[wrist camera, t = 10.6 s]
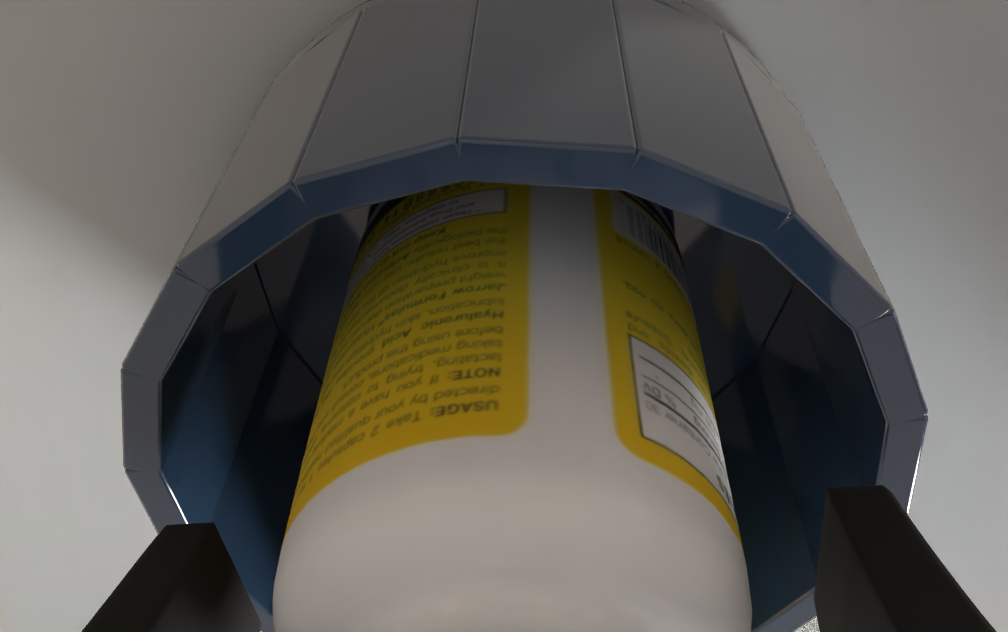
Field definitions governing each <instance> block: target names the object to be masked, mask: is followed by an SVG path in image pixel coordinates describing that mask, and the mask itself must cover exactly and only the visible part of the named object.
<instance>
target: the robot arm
mask: <svg viewBox="0 0 1008 632" xmlns="http://www.w3.org/2000/svg"><path fill="white" fill-rule="evenodd" d="M814 603H815V609H816V614H817V619H818V624H819V629H820V632H996V631H995V629H994V628H993V627H992V626H991V625H990V623H989V622H988V621H987V620H986V619H985V617H984V616H983V615H982V614H981V612H980V611H979V610H978V609H977V607H976V606H975V605H974V603H973V602H972V601H971V600H970V598H969V597H968V596H967V595H966V593H965V592H964V591H963V590H962V588H961V587H960V586H959V584H958V583H957V582H956V580H955V579H954V578H953V576H952V575H951V574H950V572H949V571H948V570H947V569H946V567H945V566H944V565H943V563H942V562H941V561H940V559H939V558H938V557H937V555H936V554H935V553H934V551H933V550H932V548H931V547H930V546H929V544H928V543H927V542H926V540H925V539H924V538H923V536H922V535H921V533H920V532H919V531H918V529H917V528H916V526H915V525H914V524H913V522H912V521H911V519H910V518H909V516H908V515H907V514H906V512H905V511H904V509H903V508H902V506H901V505H900V503H899V502H898V500H897V499H896V497H895V496H894V495H893V493H892V492H891V491H890V490H889V489H887V488H886V487H885V486H884V485H874V486H856V487H838V488H827V492H826V501H825V509H824V517H823V525H822V534H821V542H820V550H819V559H818V567H817V575H816V583H815V592H814ZM260 630H261V621H260V619H259V617H258V615H257V613H256V610H255V608H254V606H253V604H252V602H251V600H250V598H249V596H248V593H247V591H246V589H245V587H244V585H243V583H242V581H241V578H240V576H239V574H238V572H237V570H236V568H235V566H234V564H233V561H232V559H231V557H230V555H229V553H228V551H227V549H226V547H225V544H224V542H223V540H222V538H221V536H220V534H219V532H218V529H217V527H216V525H215V523H214V522H212V523H194V524H176V525H166V526H165V527H164V528H163V529H162V531H161V532H160V533H159V534H158V535H157V537H156V538H155V539H154V540H153V542H152V543H151V544H150V545H149V547H148V548H147V549H146V550H145V552H144V553H143V554H142V555H141V557H140V558H139V559H138V560H137V562H136V563H135V564H134V566H133V567H132V568H131V569H130V571H129V572H128V573H127V574H126V576H125V577H124V578H123V580H122V581H121V582H120V583H119V585H118V586H117V587H116V589H115V590H114V591H113V592H112V594H111V595H110V596H109V597H108V599H107V600H106V601H105V603H104V604H103V605H102V606H101V608H100V609H99V610H98V611H97V613H96V614H95V615H94V616H93V618H92V619H91V620H90V622H89V623H88V624H87V625H86V627H85V628H84V629H83V630H82V632H260Z"/></svg>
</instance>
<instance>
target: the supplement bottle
mask: <svg viewBox="0 0 1008 632" xmlns="http://www.w3.org/2000/svg"><path fill="white" fill-rule="evenodd" d="M751 623H752V604H751V596H750V588H749V581H748V574H747V566H746V561H745V557H744V552H743V547H742V542H741V537H740V533H739V527H738V523H737V519H736V515H735V510H734V505H733V500H732V495H731V490H730V486H729V482H728V477H727V472H726V467H725V461H724V456H723V452H722V447H721V442H720V437H719V432H718V427H717V423H716V419H715V414H714V408H713V403H712V398H711V393H710V388H709V384H708V379H707V374H706V369H705V365H704V360H703V355H702V351H701V345H700V340H699V335H698V331H697V326H696V321H695V315H694V311H693V307H692V301H691V296H690V292H689V287H688V283H687V278H686V273H685V269H684V264H683V260H682V257H681V253H680V250H679V247H678V244H677V241H676V238H675V235H674V233H673V230H672V227H671V225H670V223H669V221H668V219H667V217H666V215H665V214H664V212H663V211H662V209H661V208H660V206H659V205H658V204H656V203H653V202H651V201H648V200H646V199H643V198H641V197H638V196H636V195H633V194H631V193H628V192H625V191H618V190H602V189H585V188H568V187H552V186H535V185H518V184H502V183H485V182H468V181H463V182H459V183H455V184H451V185H447V186H443V187H440V188H436V189H432V190H428V191H424V192H420V193H416V194H412V195H408V196H404V197H401V198H397V199H393V200H389V201H385V202H381V203H379V205H378V206H377V208H376V209H375V211H374V213H373V214H372V216H371V218H370V220H369V222H368V224H367V227H366V229H365V231H364V234H363V236H362V239H361V242H360V245H359V248H358V251H357V254H356V257H355V260H354V265H353V270H352V273H351V276H350V280H349V285H348V289H347V293H346V297H345V301H344V304H343V308H342V311H341V315H340V318H339V322H338V326H337V330H336V333H335V337H334V341H333V345H332V349H331V352H330V356H329V360H328V364H327V368H326V372H325V376H324V380H323V384H322V387H321V391H320V395H319V399H318V403H317V407H316V411H315V415H314V419H313V423H312V426H311V430H310V434H309V438H308V442H307V447H306V450H305V454H304V458H303V462H302V466H301V470H300V475H299V479H298V483H297V487H296V490H295V495H294V499H293V503H292V507H291V511H290V516H289V519H288V523H287V528H286V532H285V536H284V540H283V544H282V548H281V553H280V557H279V562H278V567H277V572H276V577H275V582H274V590H273V625H274V632H751Z"/></svg>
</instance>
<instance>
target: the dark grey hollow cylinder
mask: <svg viewBox="0 0 1008 632" xmlns="http://www.w3.org/2000/svg"><path fill="white" fill-rule="evenodd" d="M463 181H468V182H485V183H502V184H518V185H535V186H552V187H568V188H585V189H602V190H618V191H625V192H628V193H631V194H633V195H636V196H638V197H641V198H643V199H646V200H648V201H651V202H653V203H656V204H658V205H659V206H660V208H661V209H662V211H663V212H664V214H665V215H666V217H667V219H668V221H669V223H670V225H671V227H672V230H673V233H674V235H675V238H676V241H677V244H678V247H679V250H680V253H681V257H682V260H683V264H684V269H685V273H686V278H687V283H688V287H689V292H690V296H691V301H692V307H693V311H694V315H695V321H696V326H697V331H698V335H699V340H700V345H701V351H702V355H703V360H704V365H705V369H706V374H707V379H708V384H709V388H710V393H711V398H712V403H713V408H714V414H715V419H716V423H717V427H718V432H719V437H720V442H721V447H722V452H723V456H724V461H725V467H726V472H727V477H728V482H729V486H730V490H731V495H732V500H733V505H734V510H735V515H736V519H737V523H738V527H739V533H740V537H741V542H742V547H743V552H744V557H745V561H746V566H747V574H748V581H749V588H750V596H751V604H752V623H751V632H794V631H796V630H797V629H799V628H800V627H802V626H803V625H805V624H806V623H807V622H809V621H810V620H812V619H813V618H815V617H816V616H817V614H816V609H815V603H814V592H815V583H816V575H817V567H818V559H819V550H820V542H821V534H822V525H823V517H824V509H825V501H826V492H827V488H838V487H856V486H874V485H884V486H885V487H886V488H887V489H889V490H890V491H891V492H892V493H893V495H894V496H895V497H896V499H897V500H898V502H899V503H900V505H901V506H902V508H903V509H904V511H905V512H906V514H907V513H908V512H909V509H910V504H911V500H912V495H913V490H914V485H915V480H916V475H917V470H918V465H919V460H920V455H921V450H922V446H923V441H924V436H925V431H926V426H927V421H928V416H927V412H928V409H927V406H926V403H925V400H924V397H923V394H922V391H921V388H920V385H919V382H918V379H917V376H916V373H915V370H914V367H913V364H912V361H911V358H910V355H909V352H908V349H907V345H906V342H905V339H904V336H903V333H902V330H901V327H900V324H899V321H898V318H897V315H896V312H895V310H894V307H893V305H892V303H891V301H890V299H889V297H888V295H887V293H886V291H885V289H884V287H883V285H882V283H881V281H880V278H879V276H878V274H877V272H876V270H875V268H874V266H873V264H872V262H871V260H870V258H869V256H868V254H867V251H866V249H865V247H864V245H863V243H862V241H861V239H860V237H859V235H858V233H857V231H856V229H855V227H854V225H853V222H852V220H851V218H850V216H849V214H848V212H847V210H846V208H845V206H844V204H843V202H842V200H841V198H840V196H839V193H838V191H837V189H836V187H835V185H834V183H833V181H832V179H831V177H830V175H829V173H828V171H827V169H826V166H825V164H824V162H823V160H822V158H821V156H820V154H819V152H818V150H817V148H816V146H815V144H814V142H813V140H812V137H811V135H810V133H809V131H808V129H807V127H806V125H805V123H804V121H803V119H802V117H801V115H800V114H799V112H798V110H797V108H796V107H795V106H794V105H793V104H792V103H791V102H790V101H789V100H788V99H787V97H786V96H785V94H784V93H783V92H782V90H781V89H780V87H779V86H778V85H777V83H776V82H775V81H774V79H773V78H772V77H771V75H770V74H769V72H768V71H767V70H766V68H765V67H764V66H763V65H762V64H761V63H760V62H759V61H758V60H757V59H756V58H755V57H754V56H753V55H752V54H751V53H750V52H749V51H748V50H747V49H746V48H745V47H744V46H743V45H742V44H741V43H740V42H739V41H738V40H737V39H736V38H735V37H734V36H733V35H731V34H730V33H729V32H727V31H726V30H725V29H723V28H722V27H721V26H719V25H718V24H717V23H715V22H714V21H713V20H711V19H710V18H708V17H707V16H706V15H704V14H703V13H702V12H700V11H698V10H696V9H694V8H693V7H691V6H689V5H687V4H685V3H683V2H681V1H680V0H370V1H368V2H366V3H364V4H362V5H359V6H358V7H356V8H355V9H353V10H352V11H350V12H349V13H347V14H346V15H345V16H343V17H342V18H340V19H339V20H337V21H336V22H334V23H333V24H331V25H330V26H329V27H327V28H326V29H324V30H323V31H322V32H321V33H320V34H319V35H318V36H317V37H315V38H314V39H313V40H312V41H311V42H310V43H309V44H308V45H307V46H306V47H305V48H304V49H303V50H301V51H300V52H299V53H298V54H297V55H296V56H295V57H294V58H293V60H292V61H291V62H290V63H289V65H288V66H287V67H286V68H285V70H284V71H283V72H282V73H281V74H279V75H278V76H277V77H276V78H275V80H274V81H273V82H272V83H271V85H270V87H269V88H268V90H267V92H266V94H265V96H264V98H263V100H262V102H261V103H260V105H259V107H258V109H257V111H256V113H255V115H254V116H253V118H252V120H251V122H250V124H249V126H248V128H247V130H246V131H245V133H244V135H243V137H242V139H241V141H240V143H239V145H238V146H237V148H236V150H235V152H234V154H233V156H232V158H231V159H230V161H229V163H228V165H227V167H226V169H225V171H224V173H223V174H222V176H221V178H220V180H219V182H218V184H217V186H216V188H215V189H214V191H213V193H212V195H211V197H210V199H209V201H208V202H207V204H206V206H205V208H204V210H203V212H202V214H201V216H200V217H199V219H198V221H197V223H196V225H195V227H194V229H193V231H192V232H191V234H190V236H189V238H188V240H187V242H186V244H185V245H184V247H183V249H182V251H181V253H180V255H179V257H178V259H177V260H176V262H175V264H174V266H173V268H172V270H171V272H170V274H169V275H168V277H167V279H166V281H165V283H164V285H163V287H162V289H161V291H160V293H159V294H158V296H157V298H156V300H155V302H154V304H153V306H152V308H151V310H150V312H149V313H148V315H147V317H146V319H145V321H144V323H143V325H142V327H141V329H140V330H139V332H138V334H137V336H136V338H135V340H134V342H133V344H132V346H131V348H130V349H129V351H128V353H127V355H126V357H125V359H124V361H123V363H122V369H121V398H122V434H123V465H124V468H125V473H126V475H127V476H128V478H129V480H130V482H131V484H132V486H133V488H134V490H135V491H136V493H137V495H138V497H139V499H140V501H141V503H142V505H143V507H144V508H145V510H146V512H147V514H148V516H149V518H150V520H151V522H152V523H153V525H154V527H155V529H156V531H157V533H158V534H159V533H160V532H161V531H162V529H163V528H164V527H165V526H166V525H176V524H194V523H212V522H214V523H215V525H216V527H217V529H218V532H219V534H220V536H221V538H222V540H223V542H224V544H225V547H226V549H227V551H228V553H229V555H230V557H231V559H232V561H233V564H234V566H235V568H236V570H237V572H238V574H239V576H240V578H241V581H242V583H243V585H244V587H245V589H246V591H247V593H248V596H249V598H250V600H251V602H252V604H253V606H254V608H255V610H256V613H257V615H258V617H259V619H260V621H261V630H260V631H261V632H274V625H273V590H274V582H275V577H276V572H277V567H278V562H279V557H280V553H281V548H282V544H283V540H284V536H285V532H286V528H287V523H288V519H289V516H290V511H291V507H292V503H293V499H294V495H295V490H296V487H297V483H298V479H299V475H300V470H301V466H302V462H303V458H304V454H305V450H306V447H307V442H308V438H309V434H310V430H311V426H312V423H313V419H314V415H315V411H316V407H317V403H318V399H319V395H320V391H321V387H322V384H323V380H324V376H325V372H326V368H327V364H328V360H329V356H330V352H331V349H332V345H333V341H334V337H335V333H336V330H337V326H338V322H339V318H340V315H341V311H342V308H343V304H344V301H345V297H346V293H347V289H348V285H349V280H350V276H351V273H352V270H353V265H354V260H355V257H356V254H357V251H358V248H359V245H360V242H361V239H362V236H363V234H364V231H365V229H366V227H367V224H368V222H369V220H370V218H371V216H372V214H373V213H374V211H375V209H376V208H377V206H378V205H379V203H381V202H385V201H389V200H393V199H397V198H401V197H404V196H408V195H412V194H416V193H420V192H424V191H428V190H432V189H436V188H440V187H443V186H447V185H451V184H455V183H459V182H463Z"/></svg>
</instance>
